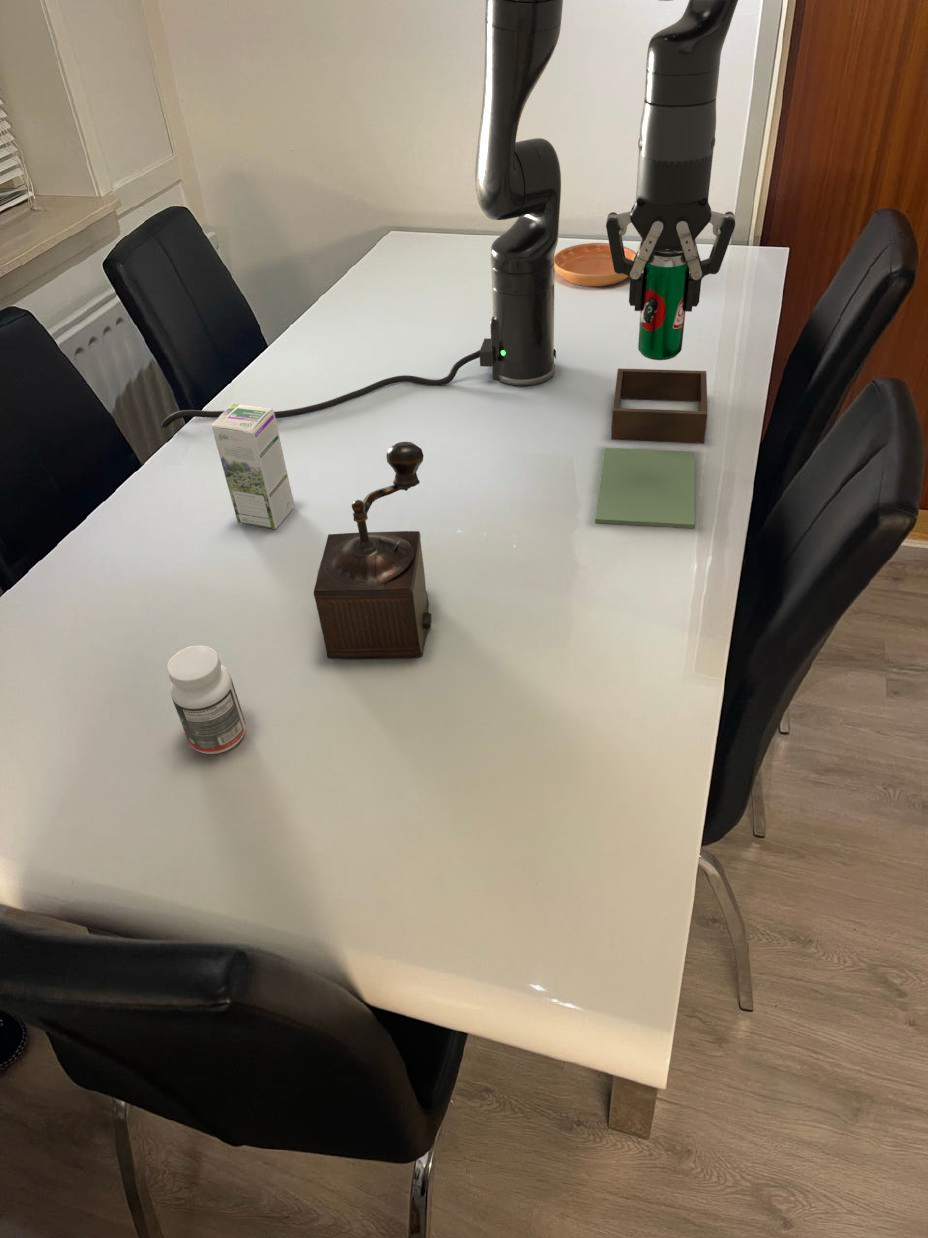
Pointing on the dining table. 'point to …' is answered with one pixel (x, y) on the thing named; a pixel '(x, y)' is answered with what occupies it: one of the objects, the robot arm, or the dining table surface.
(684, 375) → the crate
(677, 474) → the mat
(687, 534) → the dining table surface
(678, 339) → the soda can
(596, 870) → the dining table surface
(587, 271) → the saucer
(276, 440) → the syrup box
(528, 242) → the robot arm
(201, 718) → the pill bottle
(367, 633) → the manual coffee grinder
